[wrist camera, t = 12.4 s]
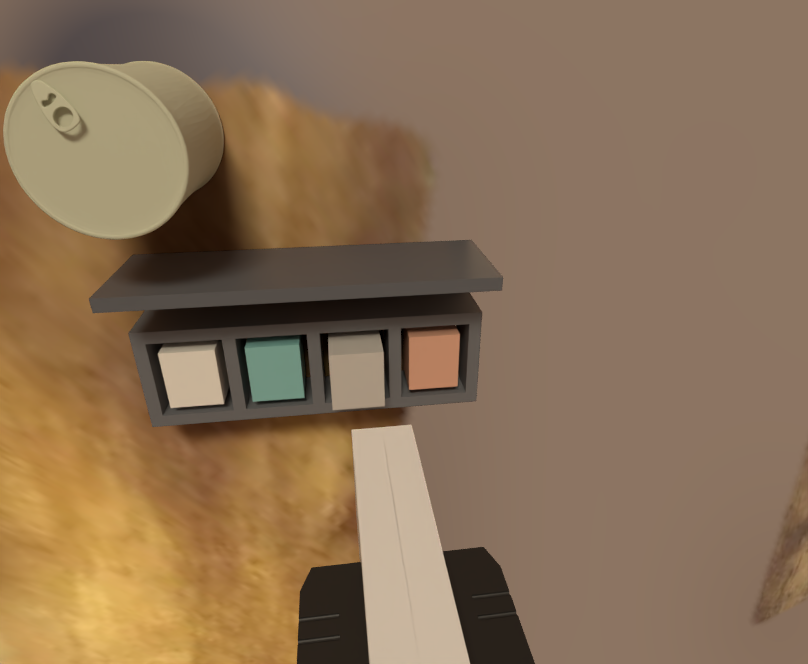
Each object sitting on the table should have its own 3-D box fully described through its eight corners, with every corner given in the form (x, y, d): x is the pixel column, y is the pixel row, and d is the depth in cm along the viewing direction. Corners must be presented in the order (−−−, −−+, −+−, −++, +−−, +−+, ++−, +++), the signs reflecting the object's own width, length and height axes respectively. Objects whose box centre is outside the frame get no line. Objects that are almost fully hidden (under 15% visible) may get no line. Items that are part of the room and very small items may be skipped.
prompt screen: (136, 269, 43) (93, 316, 35) (132, 254, 42) (88, 298, 34) (470, 254, 46) (501, 293, 38) (471, 239, 46) (503, 277, 38)
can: (161, 32, 36) (94, 18, 26) (250, 152, 40) (224, 183, 30) (58, 111, 38) (-48, 130, 27) (154, 220, 42) (96, 274, 31)
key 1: (182, 382, 47) (170, 407, 44) (170, 330, 45) (157, 353, 41) (231, 378, 48) (224, 403, 44) (222, 327, 45) (214, 350, 42)
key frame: (166, 397, 48) (152, 426, 44) (145, 309, 45) (128, 333, 41) (464, 375, 52) (476, 401, 48) (468, 291, 48) (482, 312, 44)
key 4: (403, 366, 50) (409, 389, 46) (402, 317, 47) (409, 337, 44) (447, 363, 50) (457, 386, 46) (449, 314, 48) (459, 334, 44)
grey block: (331, 384, 47) (332, 410, 43) (328, 332, 45) (328, 355, 41) (380, 380, 47) (384, 406, 44) (378, 329, 45) (383, 351, 42)
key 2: (258, 376, 48) (252, 401, 44) (250, 326, 46) (244, 348, 42) (305, 373, 48) (304, 397, 45) (300, 323, 46) (299, 344, 43)
